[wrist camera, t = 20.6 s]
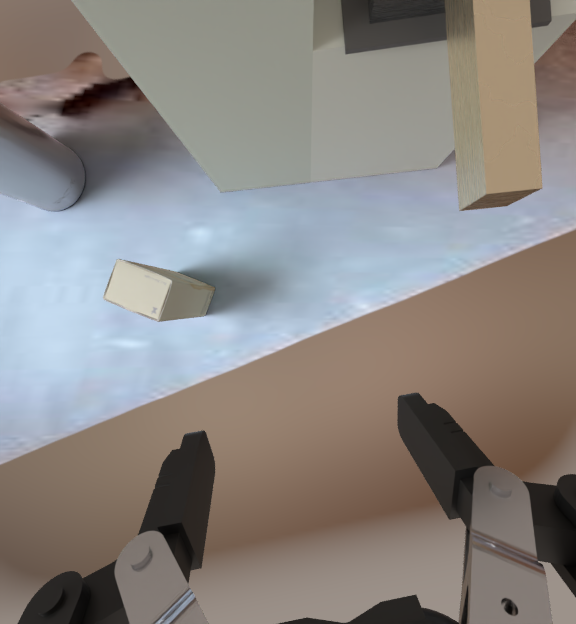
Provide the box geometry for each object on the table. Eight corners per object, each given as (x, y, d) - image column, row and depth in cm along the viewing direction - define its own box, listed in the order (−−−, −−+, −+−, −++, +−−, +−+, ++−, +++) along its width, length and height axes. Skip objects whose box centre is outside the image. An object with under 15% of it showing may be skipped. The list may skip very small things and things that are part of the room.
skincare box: (216, 287, 40) (176, 279, 28) (205, 318, 40) (159, 323, 28) (174, 270, 40) (116, 255, 28) (163, 301, 40) (100, 299, 28)
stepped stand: (212, 90, 39) (-101, -605, 9) (428, 60, 37) (923, -947, 7) (221, 196, 39) (-55, -148, 9) (436, 172, 37) (949, -359, 8)
